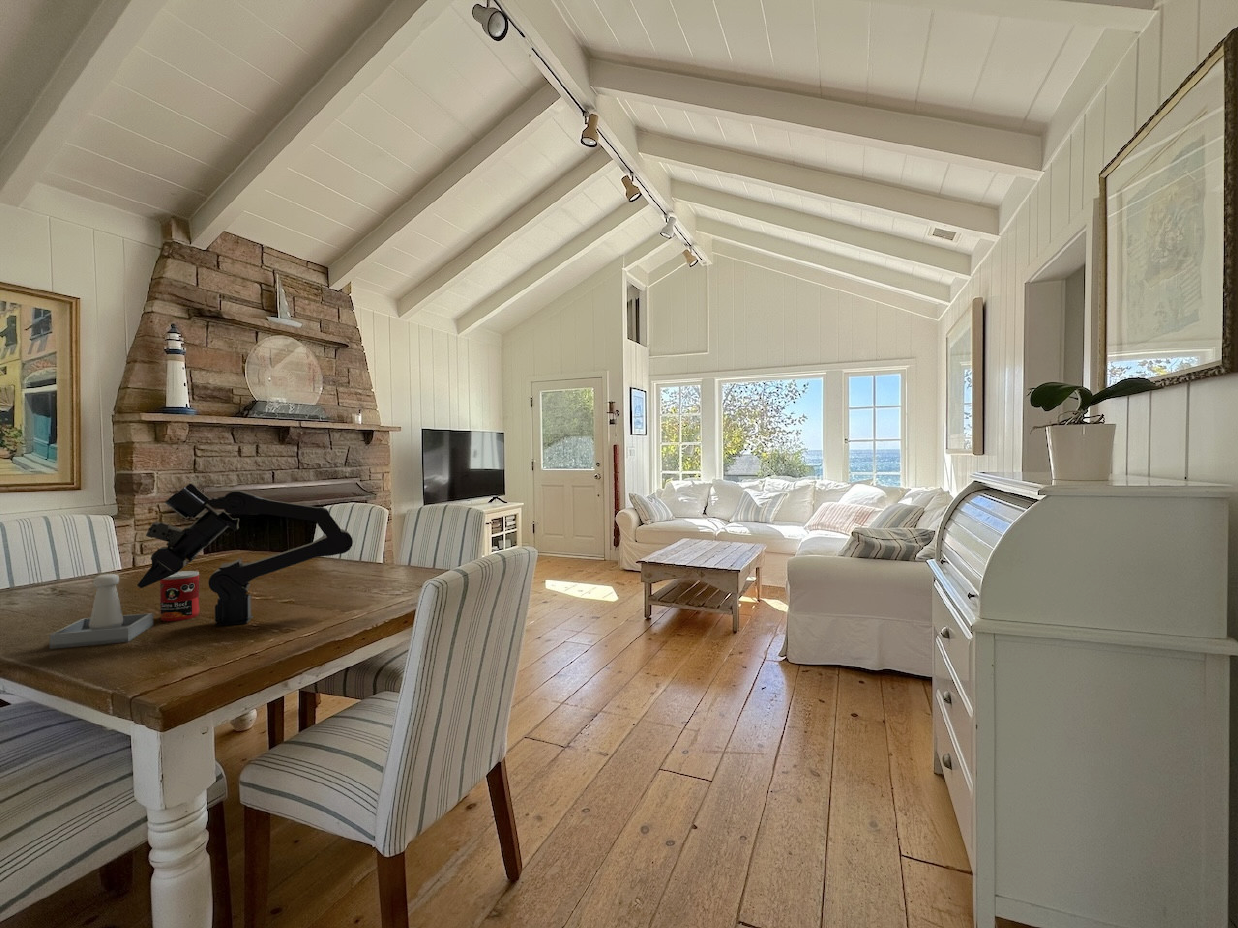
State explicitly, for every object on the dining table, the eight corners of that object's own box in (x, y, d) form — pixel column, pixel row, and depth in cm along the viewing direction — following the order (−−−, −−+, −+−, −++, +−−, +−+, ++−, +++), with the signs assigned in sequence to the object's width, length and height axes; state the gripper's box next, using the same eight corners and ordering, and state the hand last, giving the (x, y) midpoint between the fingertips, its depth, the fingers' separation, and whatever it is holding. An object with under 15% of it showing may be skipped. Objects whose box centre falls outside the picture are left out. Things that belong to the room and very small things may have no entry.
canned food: (153, 622, 137) (153, 577, 137) (171, 614, 145) (171, 571, 145) (189, 620, 139) (189, 576, 139) (205, 612, 147) (205, 570, 147)
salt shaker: (91, 638, 122) (91, 578, 122) (85, 633, 126) (85, 575, 126) (126, 631, 127) (126, 574, 127) (120, 627, 130) (120, 571, 130)
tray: (153, 625, 135) (153, 612, 135) (128, 641, 122) (128, 627, 122) (83, 631, 130) (82, 618, 130) (49, 649, 118) (49, 634, 118)
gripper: (181, 506, 140) (124, 554, 135) (163, 512, 124) (97, 567, 118) (220, 535, 144) (166, 583, 139) (207, 545, 127) (145, 599, 122)
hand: (144, 582), depth 129 cm, fingers open, 9 cm apart
